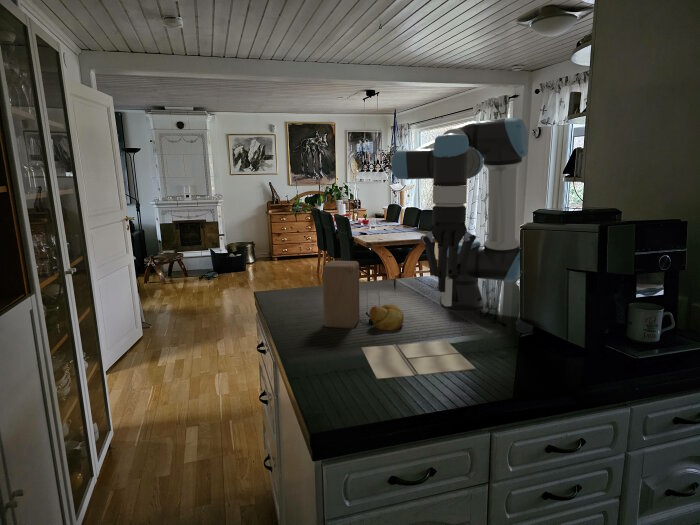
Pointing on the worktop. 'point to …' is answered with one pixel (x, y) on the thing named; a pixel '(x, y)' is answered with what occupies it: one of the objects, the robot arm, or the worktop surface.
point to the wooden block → (341, 294)
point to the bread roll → (387, 317)
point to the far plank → (427, 349)
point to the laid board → (388, 361)
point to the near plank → (441, 364)
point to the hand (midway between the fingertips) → (446, 304)
